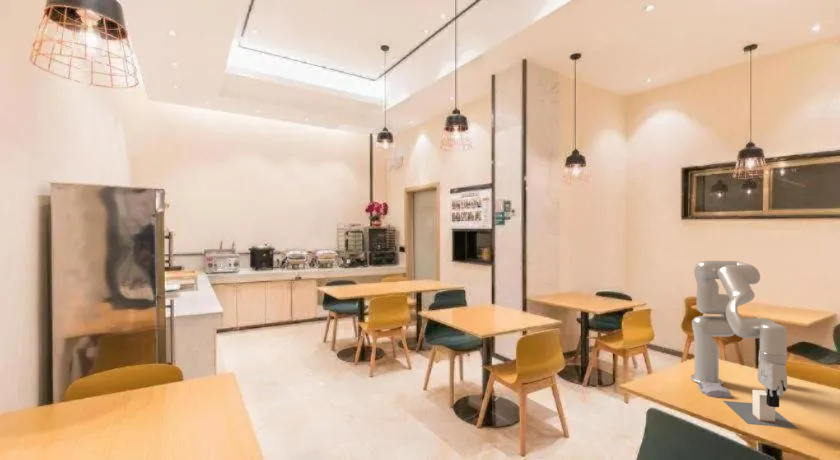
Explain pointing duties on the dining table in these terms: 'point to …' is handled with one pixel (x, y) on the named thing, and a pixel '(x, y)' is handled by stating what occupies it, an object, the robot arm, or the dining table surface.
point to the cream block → (762, 407)
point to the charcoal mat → (747, 415)
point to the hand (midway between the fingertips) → (772, 405)
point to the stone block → (714, 390)
